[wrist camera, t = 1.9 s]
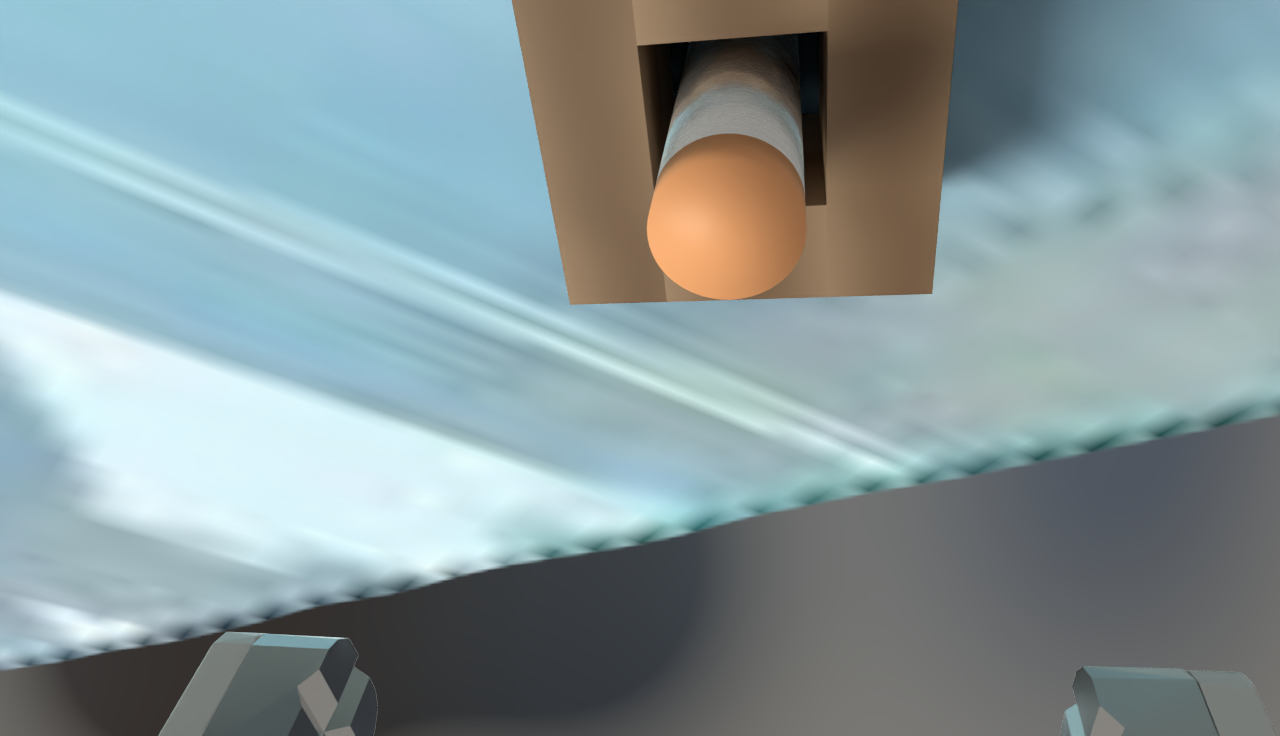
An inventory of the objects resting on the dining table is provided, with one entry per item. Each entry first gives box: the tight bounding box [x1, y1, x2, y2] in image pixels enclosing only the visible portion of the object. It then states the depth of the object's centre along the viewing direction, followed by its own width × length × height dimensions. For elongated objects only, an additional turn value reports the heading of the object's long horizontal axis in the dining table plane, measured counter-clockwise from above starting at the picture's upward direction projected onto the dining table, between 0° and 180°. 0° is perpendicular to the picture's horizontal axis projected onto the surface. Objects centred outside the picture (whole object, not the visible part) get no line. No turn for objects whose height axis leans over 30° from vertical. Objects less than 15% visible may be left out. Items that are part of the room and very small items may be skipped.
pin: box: [647, 33, 807, 300], centre depth 23 cm, size 3×3×11 cm
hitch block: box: [512, 0, 958, 305], centre depth 25 cm, size 10×10×6 cm
